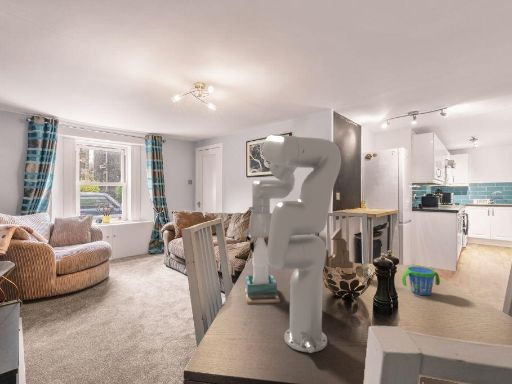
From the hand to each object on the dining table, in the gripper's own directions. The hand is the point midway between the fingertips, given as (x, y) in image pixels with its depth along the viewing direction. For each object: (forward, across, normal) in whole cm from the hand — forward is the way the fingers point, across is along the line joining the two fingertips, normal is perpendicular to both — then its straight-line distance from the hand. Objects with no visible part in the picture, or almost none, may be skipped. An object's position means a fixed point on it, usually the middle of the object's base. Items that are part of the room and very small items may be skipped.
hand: (260, 250), depth 116 cm
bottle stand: (+18, 0, -2) cm, 19 cm away
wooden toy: (+19, +44, +23) cm, 53 cm away
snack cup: (+19, +70, -6) cm, 73 cm away
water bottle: (+17, 0, 0) cm, 17 cm away
